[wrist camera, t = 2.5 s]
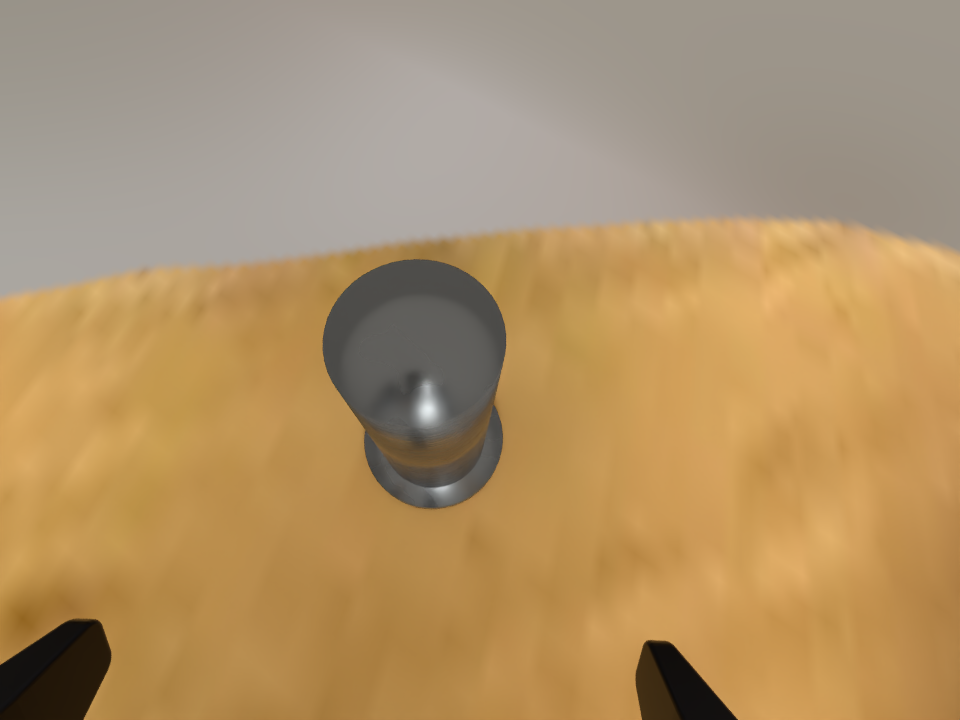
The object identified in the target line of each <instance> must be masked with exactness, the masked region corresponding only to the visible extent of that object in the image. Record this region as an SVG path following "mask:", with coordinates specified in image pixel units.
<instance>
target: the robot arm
mask: <svg viewBox="0 0 960 720" xmlns="http://www.w3.org/2000/svg"><path fill="white" fill-rule="evenodd" d="M110 662H111V649H110V646H109V644H108V641H107V638H106V635H105V632H104V629H103V626H102V624H101V622H100V621H98V620H96V619H72V620H69V621H67V622H65V623H63V624H61V625H60V626H58V627H57V628H55V629H54V630H52V631H51V632H49V633H48V634H46V635H45V636H43V637H42V638H40V639H39V640H37V641H36V642H34V643H33V644H31V645H30V646H28V647H27V648H25V649H24V650H22V651H21V652H19V653H18V654H16V655H15V656H13V657H12V658H10V659H9V660H7V661H6V662H4V663H2V664H1V665H0V720H83V719H84V717H85V715H86V713H87V711H88V709H89V707H90V705H91V703H92V701H93V699H94V697H95V695H96V693H97V691H98V689H99V687H100V685H101V683H102V681H103V679H104V677H105V675H106V673H107V671H108V668H109V665H110ZM636 689H637V694H638V700H639V705H640V711H641V716H642V720H738V719H737V718H736V717H735V716H734V715H733V714H732V712H731V711H730V710H729V709H728V708H727V707H726V705H725V704H724V703H723V702H722V701H721V700H720V698H719V697H718V696H717V695H716V694H715V693H714V691H713V690H712V689H711V688H710V687H709V686H708V684H707V683H706V682H705V681H704V680H703V679H702V677H701V676H700V675H699V674H698V673H697V672H696V671H695V669H694V668H693V667H692V666H691V665H690V664H689V662H688V661H687V660H686V659H685V658H684V657H683V655H682V654H681V653H680V652H679V651H678V650H677V648H676V647H675V646H674V645H673V644H671V643H670V642H668V641H656V640H648V641H646V642H645V643H644V645H643V648H642V652H641V655H640V659H639V663H638V666H637V670H636Z"/></svg>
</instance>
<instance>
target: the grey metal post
mask: <svg viewBox="0 0 960 720" xmlns="http://www.w3.org/2000/svg"><path fill="white" fill-rule="evenodd" d="M505 349H506V331H505V324H504V321H503V317H502V314H501V312H500V310H499V307H498V305H497V303H496V302H495V300H494V299H493V297H492V295H491V294H490V293H489V292H488V291H487V289H486V288H485V287H484V286H483V285H482V284H481V283H480V282H478V281H477V280H476V279H475V278H473V277H472V276H471V275H469V274H468V273H466V272H464V271H462V270H460V269H459V268H456V267H454V266H451V265H449V264H445V263H441V262H437V261H431V260H417V259H414V260H403V261H397V262H392V263H389V264H386V265H383V266H380V267H378V268H376V269H373V270H371V271H369V272H368V273H366V274H364V275H362V276H361V277H360V278H358V279H357V280H356V281H354V282H353V283H352V284H351V285H350V286H349V287H348V288H347V289H346V290H345V291H344V292H343V293H342V294H341V296H340V297H339V298H338V299H337V301H336V303H335V304H334V306H333V307H332V309H331V312H330V314H329V316H328V318H327V322H326V325H325V329H324V335H323V355H324V362H325V365H326V368H327V372H328V374H329V376H330V378H331V380H332V382H333V384H334V386H335V387H336V388H337V390H338V391H339V393H340V394H341V396H342V397H343V399H344V400H345V401H346V403H347V404H348V406H349V407H350V409H351V410H352V411H353V413H354V414H355V416H356V417H357V418H358V420H359V421H360V423H361V424H362V426H363V427H364V428H365V438H364V443H365V453H366V458H367V461H368V464H369V467H370V469H371V471H372V473H373V475H374V476H375V478H376V479H377V481H378V482H379V483H380V484H381V486H382V487H383V488H384V489H385V490H386V491H387V492H389V493H390V494H391V495H392V496H393V497H395V498H396V499H398V500H400V501H402V502H404V503H406V504H408V505H411V506H414V507H418V508H424V509H440V508H447V507H451V506H454V505H457V504H459V503H462V502H464V501H466V500H467V499H469V498H471V497H472V496H473V495H475V494H476V493H477V492H479V491H480V490H481V489H482V488H483V487H484V486H485V484H486V483H487V482H488V480H489V479H490V478H491V476H492V474H493V473H494V471H495V468H496V466H497V464H498V461H499V458H500V455H501V450H502V443H503V433H502V426H501V422H500V418H499V415H498V413H497V410H496V408H495V406H494V405H493V404H494V399H495V395H496V391H497V386H498V382H499V378H500V374H501V369H502V365H503V361H504V356H505Z"/></svg>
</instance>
